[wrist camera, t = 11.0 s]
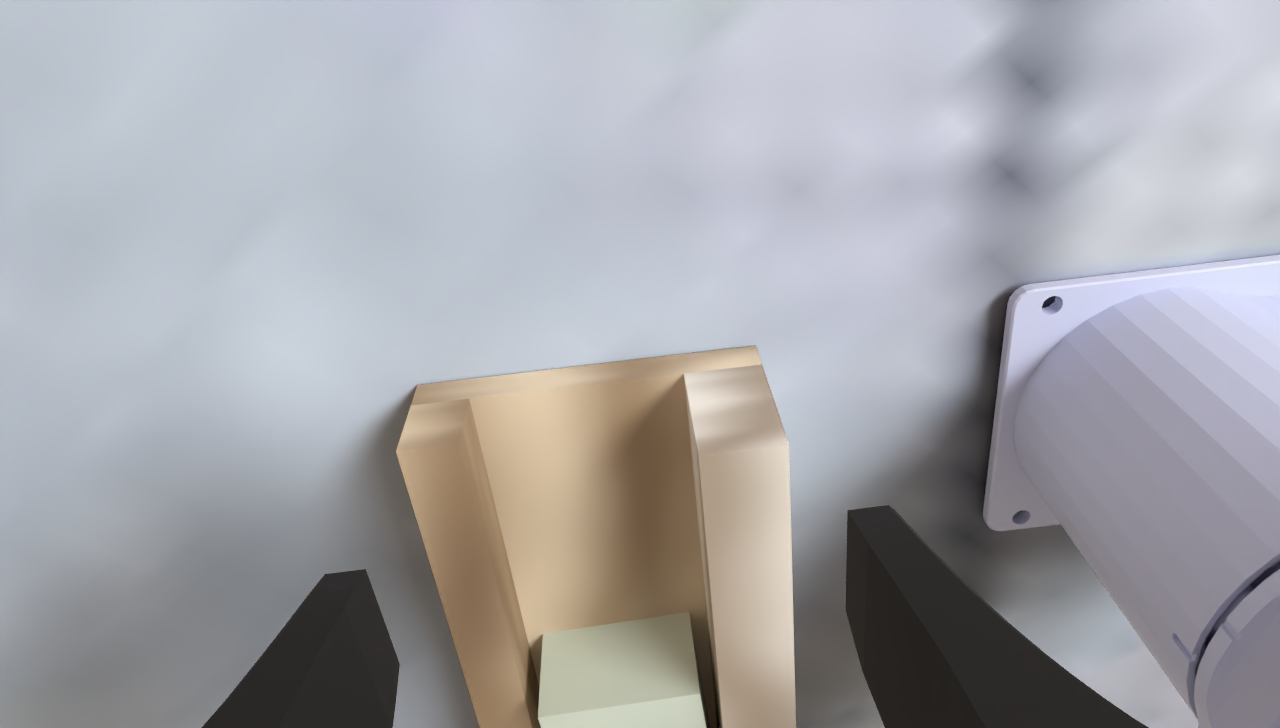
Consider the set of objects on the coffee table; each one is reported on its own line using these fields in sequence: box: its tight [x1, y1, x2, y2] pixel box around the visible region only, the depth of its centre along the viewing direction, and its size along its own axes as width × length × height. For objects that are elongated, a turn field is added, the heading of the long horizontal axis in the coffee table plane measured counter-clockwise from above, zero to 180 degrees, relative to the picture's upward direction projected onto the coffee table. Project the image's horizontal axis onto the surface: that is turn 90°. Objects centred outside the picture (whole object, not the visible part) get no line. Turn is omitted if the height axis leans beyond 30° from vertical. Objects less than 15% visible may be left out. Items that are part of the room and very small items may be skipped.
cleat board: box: [396, 345, 796, 728], centre depth 26 cm, size 9×20×4 cm, turn 6°
